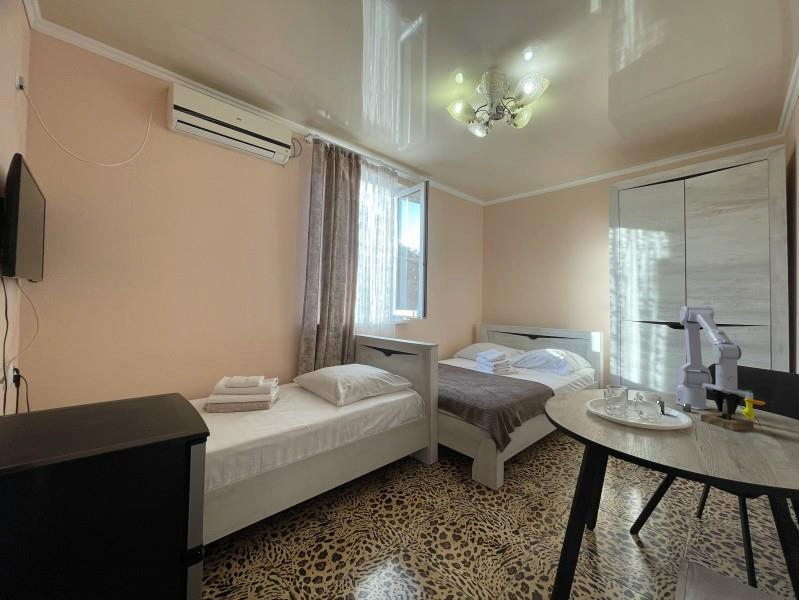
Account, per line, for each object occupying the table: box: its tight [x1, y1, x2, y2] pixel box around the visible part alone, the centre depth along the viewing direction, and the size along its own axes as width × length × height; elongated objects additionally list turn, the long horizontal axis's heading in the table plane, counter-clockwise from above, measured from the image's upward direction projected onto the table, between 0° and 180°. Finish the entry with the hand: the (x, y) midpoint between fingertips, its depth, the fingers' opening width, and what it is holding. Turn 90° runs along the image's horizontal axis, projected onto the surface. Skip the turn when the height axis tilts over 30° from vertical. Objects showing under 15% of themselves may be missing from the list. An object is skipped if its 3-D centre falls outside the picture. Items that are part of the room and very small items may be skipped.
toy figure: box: [739, 390, 766, 425], centre depth 123 cm, size 7×4×12 cm, turn 29°
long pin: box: [721, 398, 733, 420], centre depth 121 cm, size 3×3×8 cm
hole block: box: [700, 412, 755, 431], centre depth 121 cm, size 10×10×2 cm
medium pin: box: [655, 399, 665, 415], centre depth 133 cm, size 3×3×5 cm
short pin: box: [682, 403, 692, 413], centre depth 136 cm, size 3×3×3 cm
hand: (726, 412), depth 121 cm, fingers closed on long pin, 2 cm apart
